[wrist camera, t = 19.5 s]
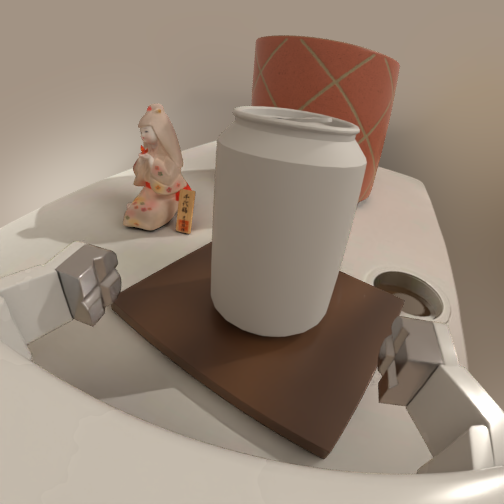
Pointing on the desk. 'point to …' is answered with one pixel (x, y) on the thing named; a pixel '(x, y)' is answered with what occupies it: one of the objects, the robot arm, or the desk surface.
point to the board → (267, 349)
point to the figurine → (160, 177)
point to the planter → (329, 87)
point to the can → (282, 216)
